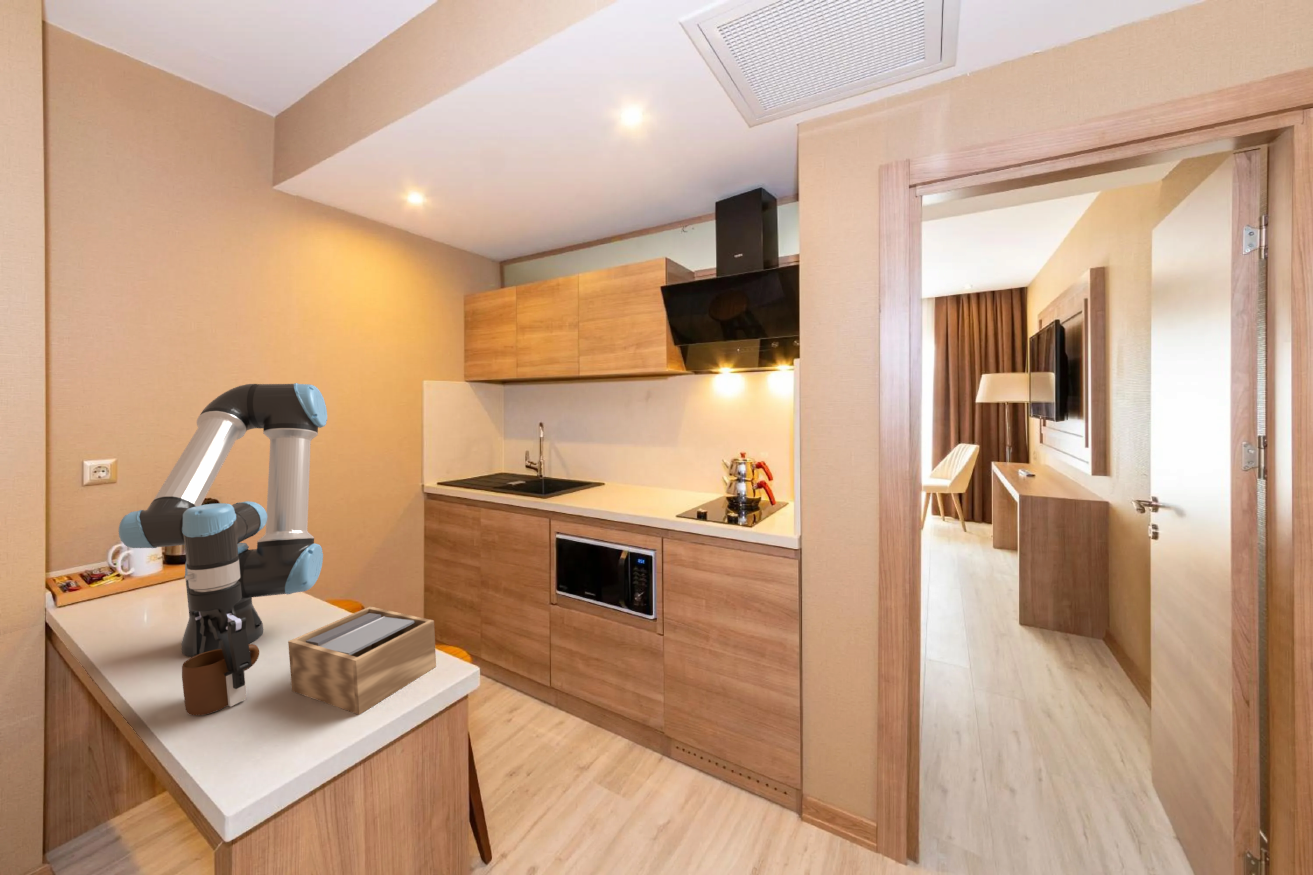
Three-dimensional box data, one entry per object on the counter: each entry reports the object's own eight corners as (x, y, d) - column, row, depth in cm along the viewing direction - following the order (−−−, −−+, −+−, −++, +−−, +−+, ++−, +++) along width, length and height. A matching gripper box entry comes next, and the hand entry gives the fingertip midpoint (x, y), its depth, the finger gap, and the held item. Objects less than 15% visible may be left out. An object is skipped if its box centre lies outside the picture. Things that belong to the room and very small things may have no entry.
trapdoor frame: (291, 691, 101) (288, 641, 100) (373, 649, 118) (370, 606, 117) (359, 714, 93) (356, 660, 93) (436, 666, 110) (433, 620, 109)
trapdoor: (305, 659, 101) (303, 641, 101) (373, 628, 115) (371, 612, 115) (350, 669, 96) (348, 649, 96) (415, 634, 109) (414, 617, 109)
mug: (252, 678, 106) (248, 635, 105) (271, 687, 102) (267, 643, 101) (178, 710, 95) (173, 662, 94) (196, 721, 91) (191, 672, 91)
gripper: (162, 584, 97) (173, 695, 99) (222, 600, 89) (233, 721, 91) (209, 571, 104) (218, 675, 106) (269, 585, 96) (278, 698, 98)
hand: (225, 696), depth 99 cm, fingers closed on mug, 7 cm apart
